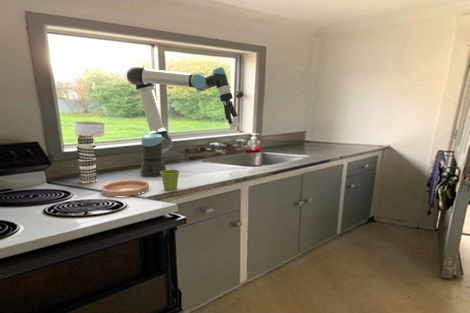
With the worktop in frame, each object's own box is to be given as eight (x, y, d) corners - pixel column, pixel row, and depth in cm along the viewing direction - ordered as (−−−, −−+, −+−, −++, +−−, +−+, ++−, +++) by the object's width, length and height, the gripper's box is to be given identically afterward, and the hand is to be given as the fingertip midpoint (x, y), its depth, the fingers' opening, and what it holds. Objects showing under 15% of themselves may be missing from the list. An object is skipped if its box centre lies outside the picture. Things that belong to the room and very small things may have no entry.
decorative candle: (90, 178, 168) (87, 133, 164) (102, 180, 164) (98, 134, 160) (75, 182, 160) (71, 135, 156) (87, 184, 156) (83, 135, 152)
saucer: (94, 190, 144) (94, 185, 144) (136, 183, 158) (136, 178, 158) (112, 200, 129) (112, 194, 129) (156, 190, 144) (156, 185, 143)
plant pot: (162, 192, 141) (161, 174, 139) (159, 187, 149) (158, 170, 148) (182, 190, 145) (181, 172, 143) (177, 185, 153) (177, 168, 152)
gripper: (225, 91, 168) (236, 128, 170) (235, 92, 192) (244, 124, 194) (213, 95, 170) (224, 131, 172) (224, 96, 193) (233, 127, 196)
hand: (235, 128), depth 183 cm, fingers open, 13 cm apart
